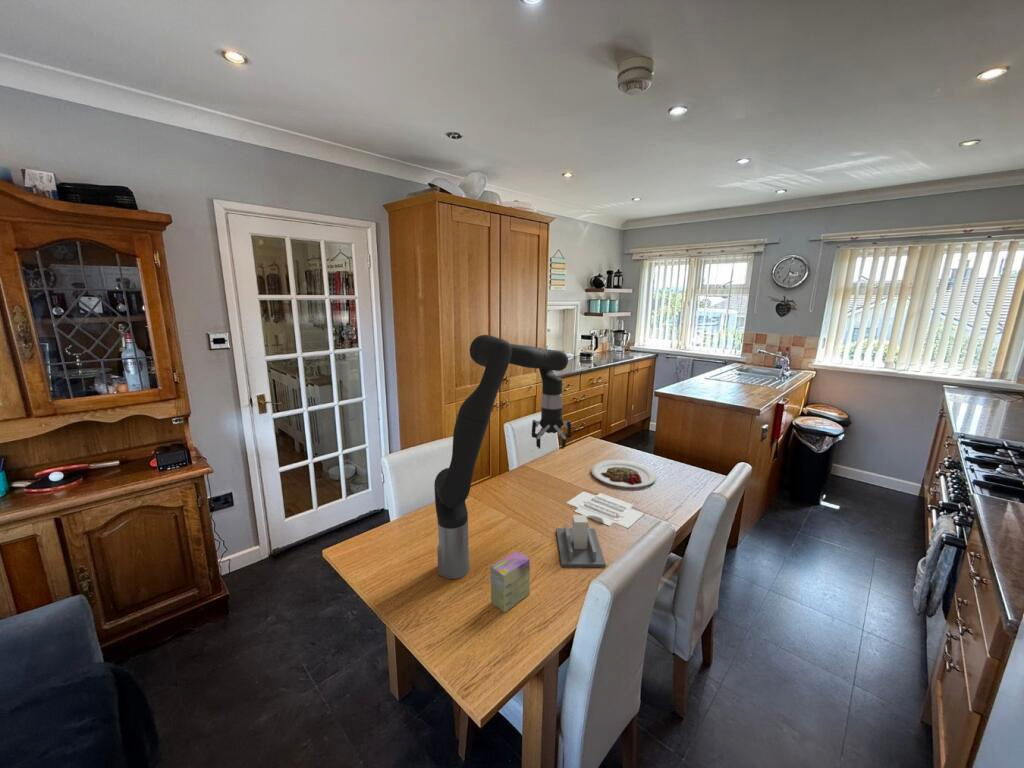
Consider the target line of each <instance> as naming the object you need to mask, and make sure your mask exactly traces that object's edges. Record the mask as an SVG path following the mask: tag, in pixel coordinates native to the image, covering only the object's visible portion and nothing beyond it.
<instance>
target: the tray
mask: <svg viewBox="0 0 1024 768" xmlns="http://www.w3.org/2000/svg"><path fill="white" fill-rule="evenodd" d="M566 504H567V505H569V506H572V507H574V508H576V509H575V510H574V512H576V513H577V514H579V515H586V517H587V518H589V519H592V520H594V521H597V522H599V523H601V524H604V525H607V526H608V527H611V525H613V524H615V525H618V526H621V527H624V528H625V529H629V528H630V527H632V526H633V524H634V523H636V522H637V521H638V520H639V519H640V518H642V516H644V515H645V513H643V512H640V511H638V510H635V509H632V508H633V507H634V506H635V505H634V504H631V503H629V502H626V501H623V500H620V499H618V498H616V497H612V496H610V495H608V494H605V493H601V492H599V493H598V494H596V495H595V494H592V493H589V492H587V491H582V492H580V493H579V494H577V495H576V496H574V497H573V498H571V499H570V500H568V501H566ZM617 517H618V518H617Z"/></svg>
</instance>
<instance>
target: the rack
mask: <svg viewBox="0 0 1024 768" xmlns="http://www.w3.org/2000/svg"><path fill="white" fill-rule="evenodd" d="M555 530H556V537H557V544H558V545H557V546H558V550H559V557H560V564H561V565H560V566H561V567H562V568H563V567H564V568H565V567H567V568H576V567H577V568H606V566H607V565H606V564H607V563H606V561H605V557H604V555H603V551H602V549H601V545H600V542H599V538H598V535H597V532H596V530H595V528H590V525H589V524H588V539H587V549H574V548H573V544H572V528H569V526H568V523H564V528H562V527H559V528H558V527H557V528H555Z"/></svg>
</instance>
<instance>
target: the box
mask: <svg viewBox="0 0 1024 768" xmlns="http://www.w3.org/2000/svg"><path fill="white" fill-rule="evenodd" d="M530 559H531V558H530V557H528V556H526V555H525V554H523V553H521V552H520V551H518V550H515V551H513V552H511V553H509V554H508V555H507V556H505V557H503V558H502V559H500V560H498V561H497V562H495V563H494V564H492V565H490V595H491V596H490V603H491V604H492V605H493V606H495V607H496V608H498V609H499V610H500V611H501V612H503V613H506V612H507V611H509V610H510V609H512V608H513V607H515V605H517V604H518V603H519V602H521V601H522V600H524V599H525V598H526V597H528V596H530V593H531V592H530V591H531V590H530V589H531V587H530V586H531V581H530V580H531V578H530V577H531V575H530V571H531V565H530V563H531V561H530Z"/></svg>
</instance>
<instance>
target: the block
mask: <svg viewBox="0 0 1024 768" xmlns="http://www.w3.org/2000/svg"><path fill="white" fill-rule="evenodd" d="M571 524H572V525H571V526H572V544H573V548H574V549H587V539H588V525H589V520H588V517H587V516H586V515H582V514H573V515H572V523H571Z"/></svg>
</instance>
